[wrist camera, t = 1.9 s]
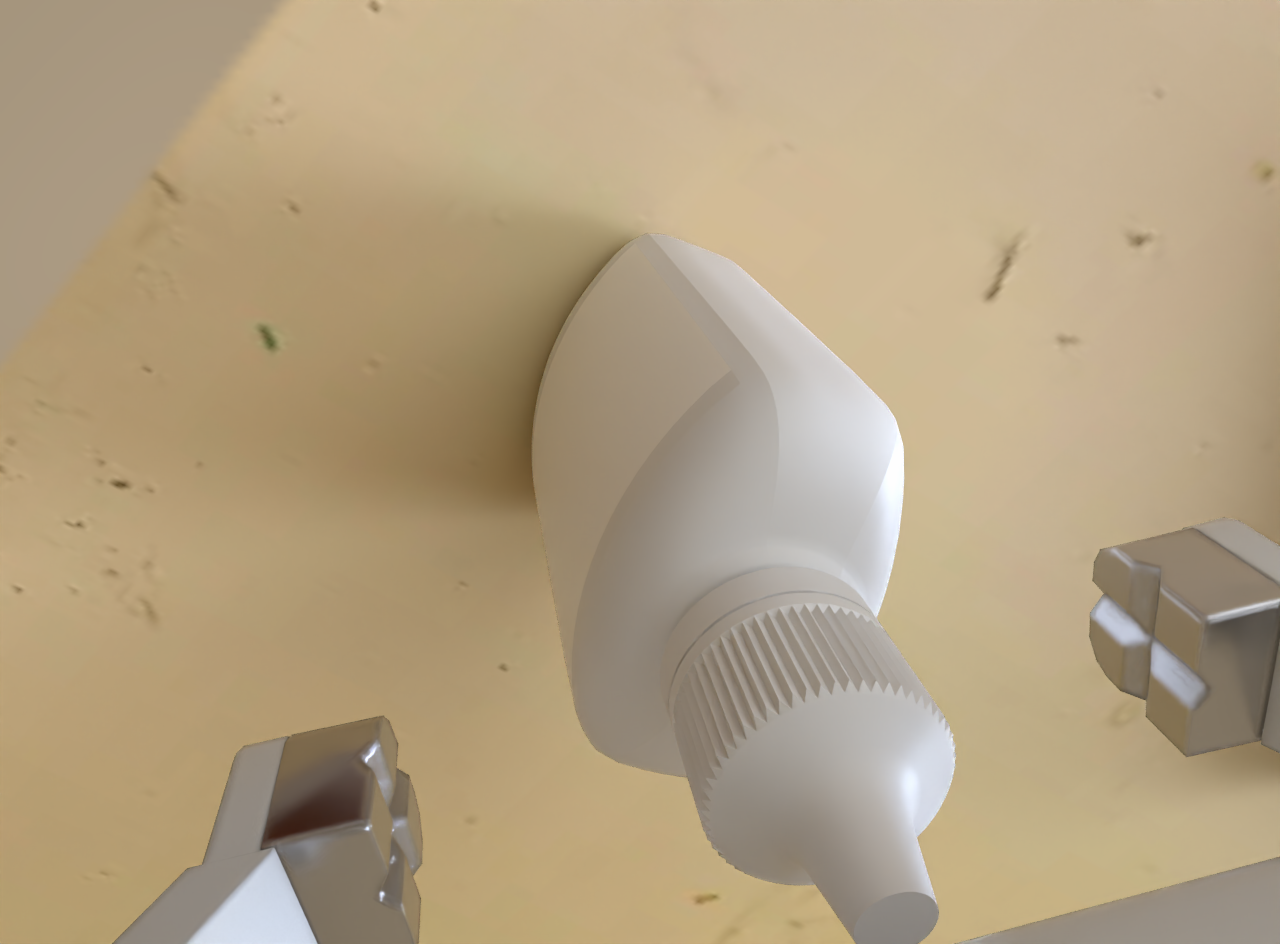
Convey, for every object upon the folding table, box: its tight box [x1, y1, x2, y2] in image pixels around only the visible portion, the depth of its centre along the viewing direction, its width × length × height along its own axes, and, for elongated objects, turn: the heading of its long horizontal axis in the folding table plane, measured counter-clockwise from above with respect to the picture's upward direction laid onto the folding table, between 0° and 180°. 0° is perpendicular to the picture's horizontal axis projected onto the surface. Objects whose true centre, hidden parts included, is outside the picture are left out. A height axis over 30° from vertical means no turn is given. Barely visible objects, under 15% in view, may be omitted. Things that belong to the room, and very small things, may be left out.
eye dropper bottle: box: [532, 233, 956, 944], centre depth 13 cm, size 4×6×12 cm
